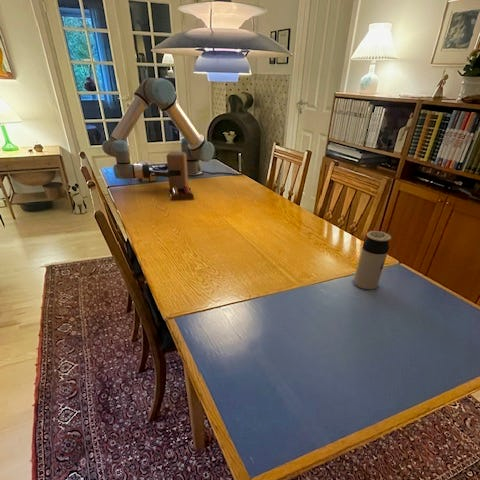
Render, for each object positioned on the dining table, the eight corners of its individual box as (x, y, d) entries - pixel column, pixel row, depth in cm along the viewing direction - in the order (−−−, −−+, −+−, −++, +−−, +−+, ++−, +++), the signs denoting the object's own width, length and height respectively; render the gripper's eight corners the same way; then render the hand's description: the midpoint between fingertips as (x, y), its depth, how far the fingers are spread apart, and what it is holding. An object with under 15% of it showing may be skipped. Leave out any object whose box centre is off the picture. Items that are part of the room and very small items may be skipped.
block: (186, 191, 203) (183, 155, 191) (169, 191, 203) (166, 154, 191) (188, 187, 211) (186, 151, 199) (172, 186, 211) (169, 151, 199)
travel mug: (349, 283, 119) (361, 234, 109) (360, 276, 124) (373, 228, 113) (370, 292, 115) (384, 242, 104) (381, 284, 119) (396, 235, 109)
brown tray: (190, 192, 203) (190, 185, 201) (193, 199, 192) (193, 192, 190) (170, 193, 200) (169, 186, 198) (171, 200, 190) (171, 192, 187)
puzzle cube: (138, 178, 225) (136, 162, 219) (153, 177, 228) (151, 161, 222) (141, 182, 218) (139, 165, 212) (157, 180, 221) (155, 164, 215)
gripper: (143, 172, 209) (178, 171, 213) (143, 183, 189) (182, 182, 193) (141, 159, 204) (177, 158, 208) (141, 169, 185) (181, 168, 189)
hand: (179, 170), depth 201 cm, fingers open, 13 cm apart
